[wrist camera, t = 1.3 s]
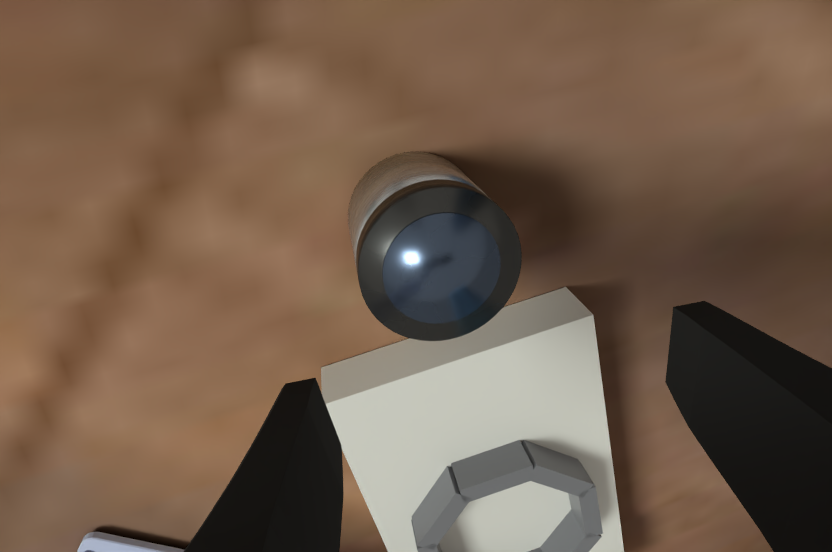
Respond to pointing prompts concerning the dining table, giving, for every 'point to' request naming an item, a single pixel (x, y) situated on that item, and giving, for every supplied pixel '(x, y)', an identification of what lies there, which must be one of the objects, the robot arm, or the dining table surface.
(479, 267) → the lens
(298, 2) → the dining table surface
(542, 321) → the camera body
